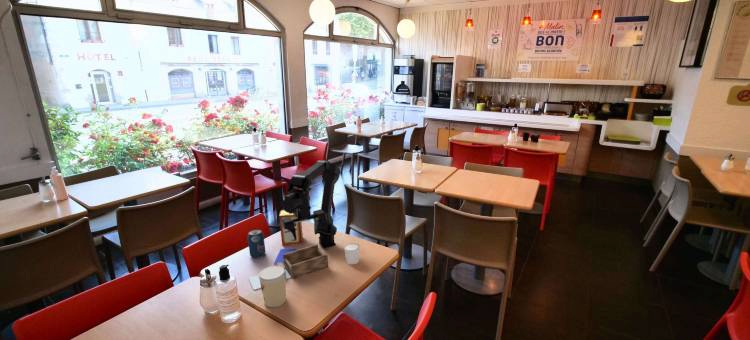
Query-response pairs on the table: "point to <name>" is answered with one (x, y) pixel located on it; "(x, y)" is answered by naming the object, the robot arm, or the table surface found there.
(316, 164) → the robot arm
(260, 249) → the soda can
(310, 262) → the wooden box
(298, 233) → the baking soda box
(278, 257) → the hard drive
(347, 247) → the shot glass
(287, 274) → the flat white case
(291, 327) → the table surface
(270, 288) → the coffee cup
